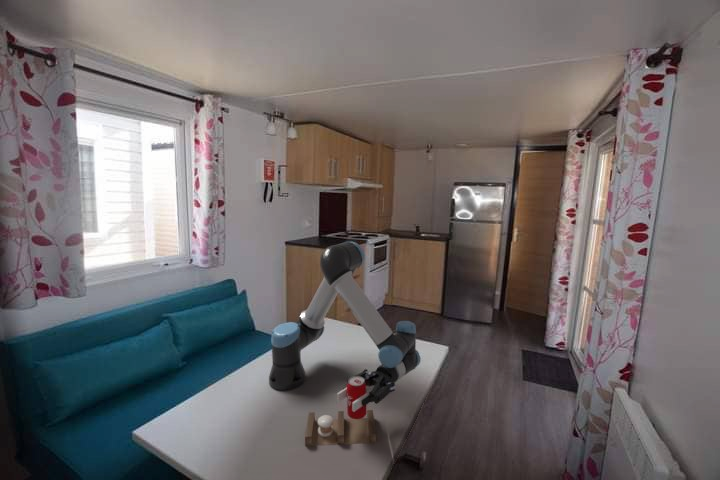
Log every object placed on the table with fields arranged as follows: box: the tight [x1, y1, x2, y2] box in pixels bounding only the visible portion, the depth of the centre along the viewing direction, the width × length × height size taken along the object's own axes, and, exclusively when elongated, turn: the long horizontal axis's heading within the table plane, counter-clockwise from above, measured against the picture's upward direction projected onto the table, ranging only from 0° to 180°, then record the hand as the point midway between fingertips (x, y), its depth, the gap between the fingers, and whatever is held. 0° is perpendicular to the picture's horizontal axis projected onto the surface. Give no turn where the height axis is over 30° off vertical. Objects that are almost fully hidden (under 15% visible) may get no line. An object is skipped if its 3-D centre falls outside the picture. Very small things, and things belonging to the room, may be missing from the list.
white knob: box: [317, 414, 334, 437], centre depth 101 cm, size 5×5×4 cm
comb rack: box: [304, 409, 377, 447], centre depth 102 cm, size 22×11×4 cm, turn 93°
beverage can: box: [346, 375, 367, 420], centre depth 101 cm, size 6×6×12 cm
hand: (345, 402), depth 97 cm, fingers closed on beverage can, 6 cm apart
